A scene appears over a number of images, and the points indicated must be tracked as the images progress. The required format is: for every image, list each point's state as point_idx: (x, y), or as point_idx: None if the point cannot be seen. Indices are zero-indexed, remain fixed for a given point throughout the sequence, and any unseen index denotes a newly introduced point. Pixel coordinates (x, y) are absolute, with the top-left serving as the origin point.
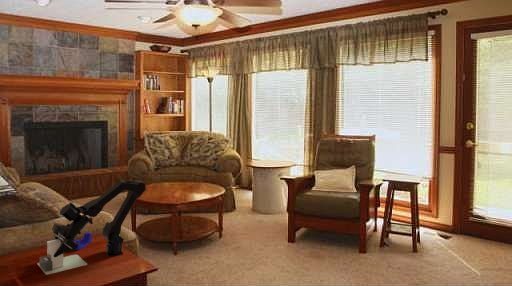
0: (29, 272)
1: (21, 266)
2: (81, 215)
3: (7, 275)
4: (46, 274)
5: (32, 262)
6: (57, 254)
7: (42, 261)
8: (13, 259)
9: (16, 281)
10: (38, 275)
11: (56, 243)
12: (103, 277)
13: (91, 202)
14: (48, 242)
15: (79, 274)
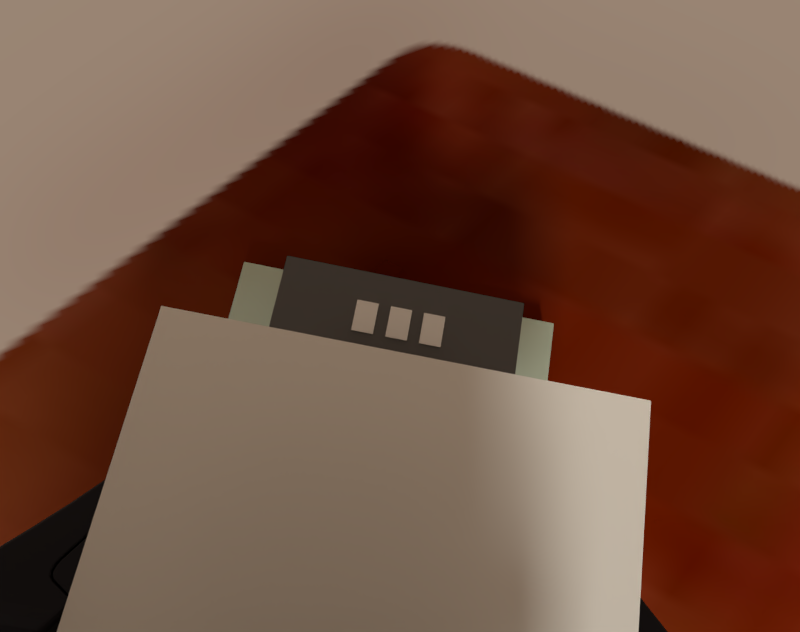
0: (447, 217)
1: (609, 229)
2: None
3: (512, 87)
4: (247, 265)
5: (634, 332)
6: None
7: (402, 283)
8: (793, 250)
9: (360, 81)
10: (334, 239)
11: (209, 568)
12: None
13: None
14: (530, 391)
15: (30, 526)
